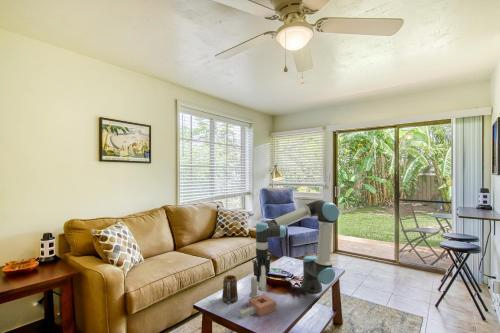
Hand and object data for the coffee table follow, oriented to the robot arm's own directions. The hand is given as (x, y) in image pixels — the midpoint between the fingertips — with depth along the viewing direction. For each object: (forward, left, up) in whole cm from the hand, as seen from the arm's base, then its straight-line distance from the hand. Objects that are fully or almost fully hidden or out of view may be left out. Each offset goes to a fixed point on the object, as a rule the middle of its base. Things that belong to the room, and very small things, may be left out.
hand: (261, 285), depth 161 cm
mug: (+12, -19, -15) cm, 27 cm away
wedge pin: (0, 0, -3) cm, 3 cm away
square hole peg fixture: (+5, -3, -14) cm, 15 cm away
